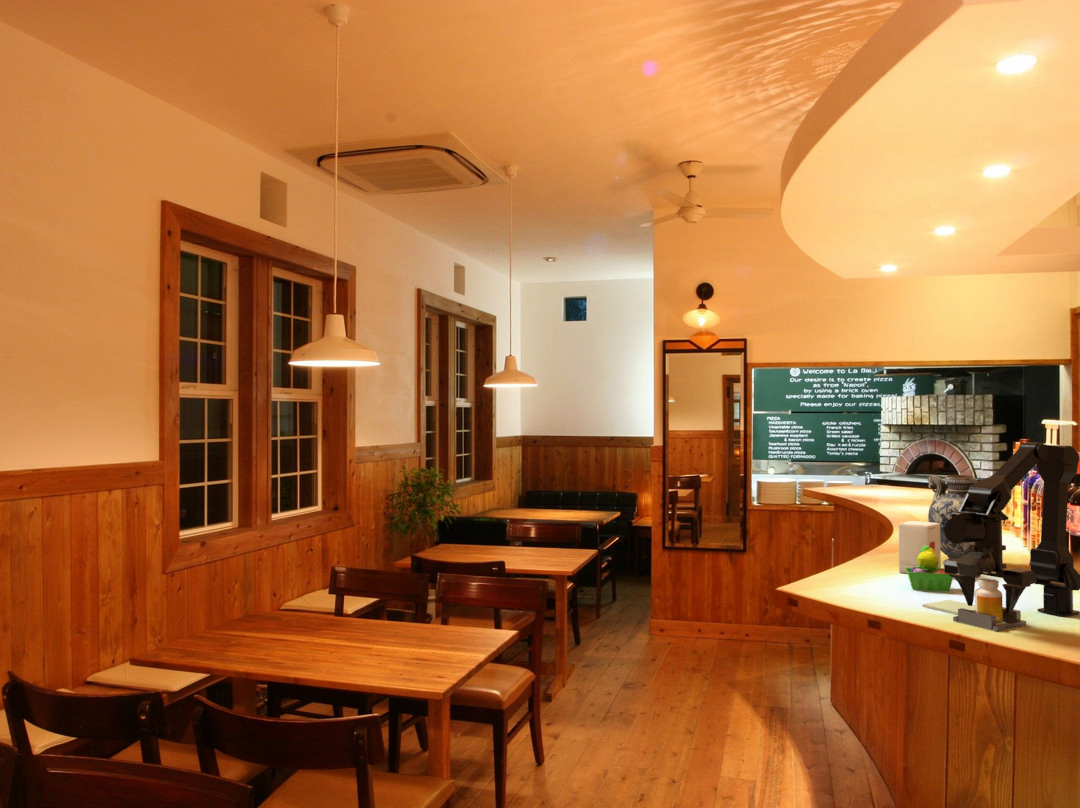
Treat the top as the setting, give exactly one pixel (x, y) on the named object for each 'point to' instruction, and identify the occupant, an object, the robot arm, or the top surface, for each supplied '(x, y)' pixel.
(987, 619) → the grey low square frame
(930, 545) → the supplement box
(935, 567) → the fruit basket
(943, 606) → the pad
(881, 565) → the top surface
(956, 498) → the decorative vase
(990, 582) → the supplement bottle
